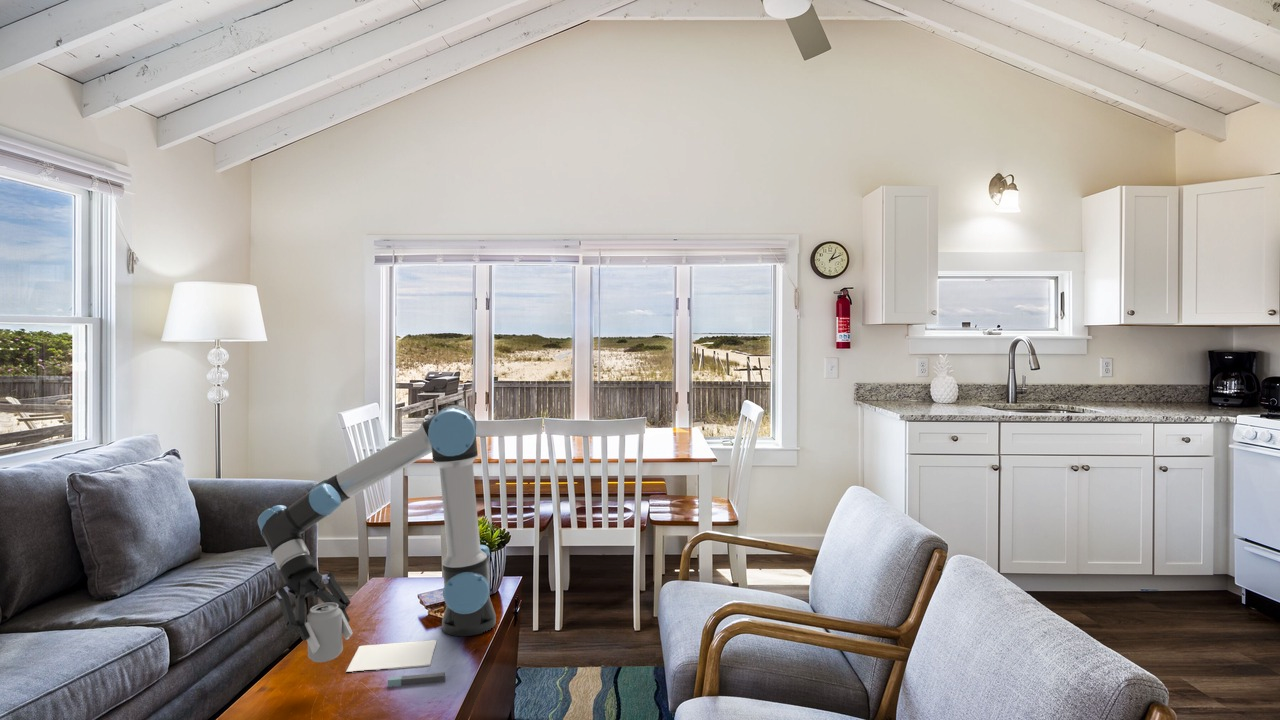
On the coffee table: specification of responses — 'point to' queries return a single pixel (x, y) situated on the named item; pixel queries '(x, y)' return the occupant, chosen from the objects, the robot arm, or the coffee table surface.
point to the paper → (393, 656)
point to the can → (326, 631)
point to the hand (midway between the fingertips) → (333, 642)
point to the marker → (416, 679)
